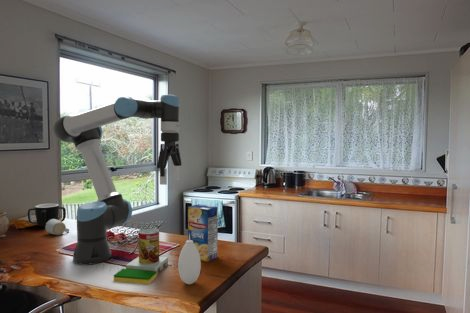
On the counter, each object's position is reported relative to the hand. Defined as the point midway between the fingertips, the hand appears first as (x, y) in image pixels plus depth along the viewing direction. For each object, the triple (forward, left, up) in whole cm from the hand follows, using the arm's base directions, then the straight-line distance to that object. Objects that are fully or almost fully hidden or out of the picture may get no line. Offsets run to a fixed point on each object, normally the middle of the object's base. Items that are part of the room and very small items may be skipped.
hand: (170, 182), depth 150 cm
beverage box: (+13, +5, -33) cm, 36 cm away
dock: (-4, -13, -33) cm, 35 cm away
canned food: (-3, -13, -30) cm, 33 cm away
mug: (-91, +35, -33) cm, 103 cm away
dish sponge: (-4, -23, -33) cm, 41 cm away
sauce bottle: (+17, -23, -33) cm, 43 cm away
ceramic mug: (-73, +22, -33) cm, 84 cm away
